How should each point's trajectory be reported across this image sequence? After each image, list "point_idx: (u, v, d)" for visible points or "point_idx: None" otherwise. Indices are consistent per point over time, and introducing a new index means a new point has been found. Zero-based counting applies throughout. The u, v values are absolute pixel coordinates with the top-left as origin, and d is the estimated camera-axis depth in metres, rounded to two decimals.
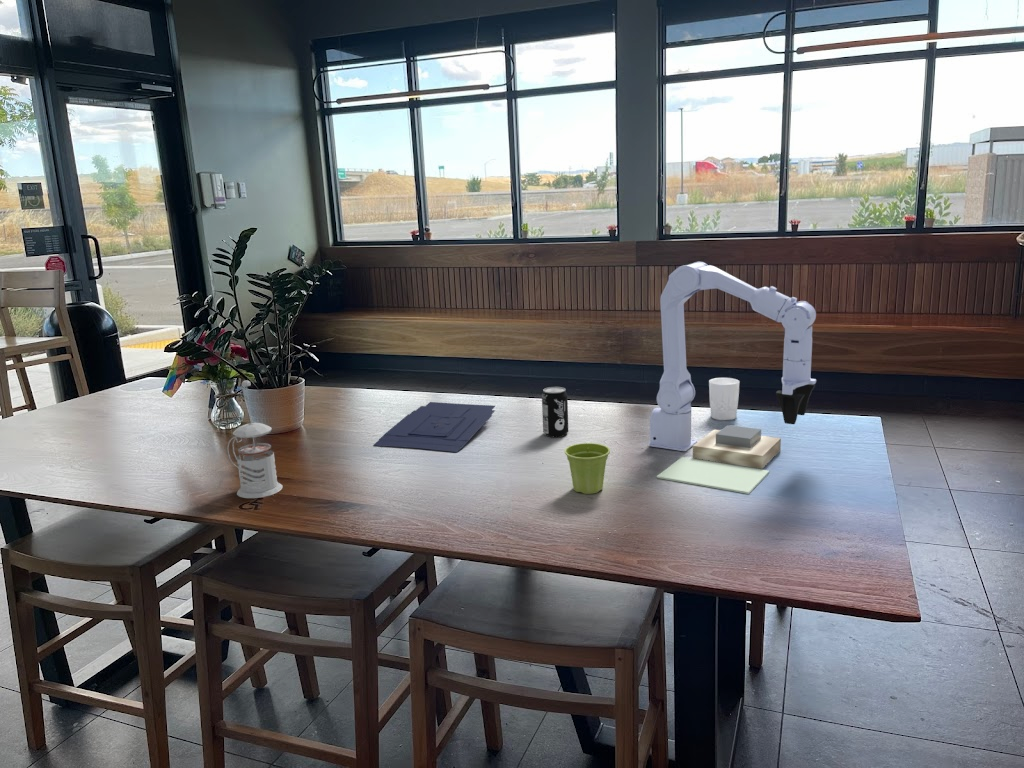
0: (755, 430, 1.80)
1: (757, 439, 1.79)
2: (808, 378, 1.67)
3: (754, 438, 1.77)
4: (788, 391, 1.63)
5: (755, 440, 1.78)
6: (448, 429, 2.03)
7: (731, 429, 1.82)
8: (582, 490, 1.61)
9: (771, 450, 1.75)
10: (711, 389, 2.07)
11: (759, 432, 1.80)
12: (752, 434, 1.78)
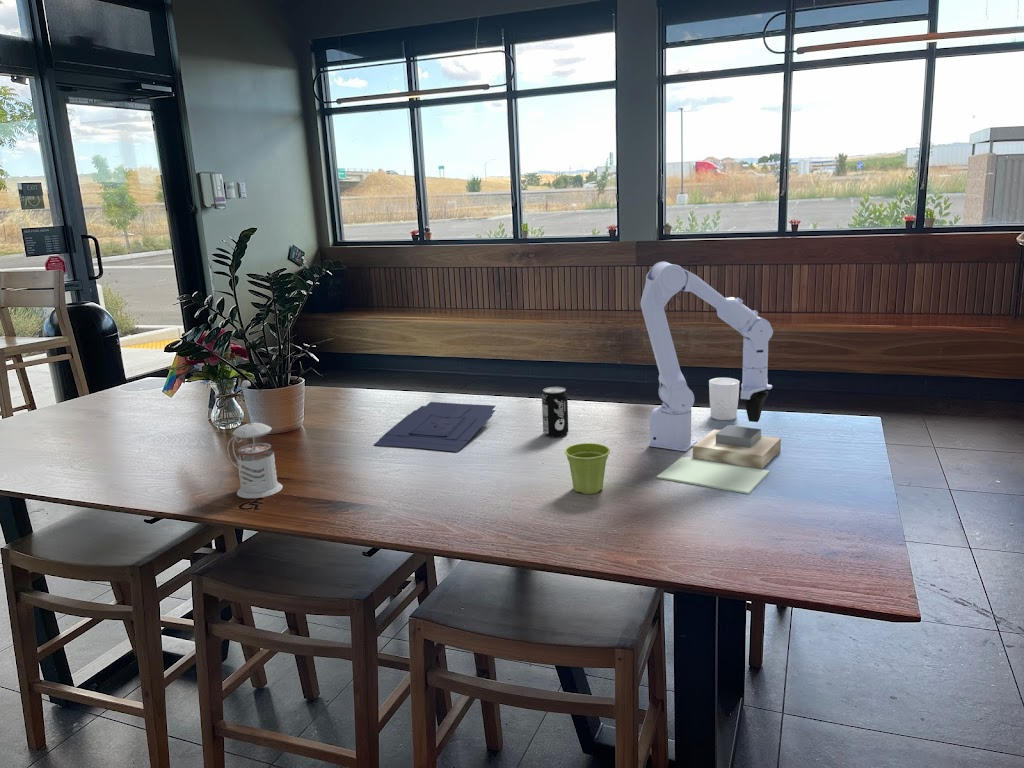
0: (755, 430, 1.80)
1: (757, 439, 1.79)
2: (765, 384, 1.84)
3: (754, 438, 1.77)
4: (746, 396, 1.81)
5: (755, 440, 1.78)
6: (448, 429, 2.04)
7: (731, 429, 1.82)
8: (582, 490, 1.61)
9: (771, 450, 1.75)
10: (711, 389, 2.07)
11: (759, 432, 1.80)
12: (752, 434, 1.78)
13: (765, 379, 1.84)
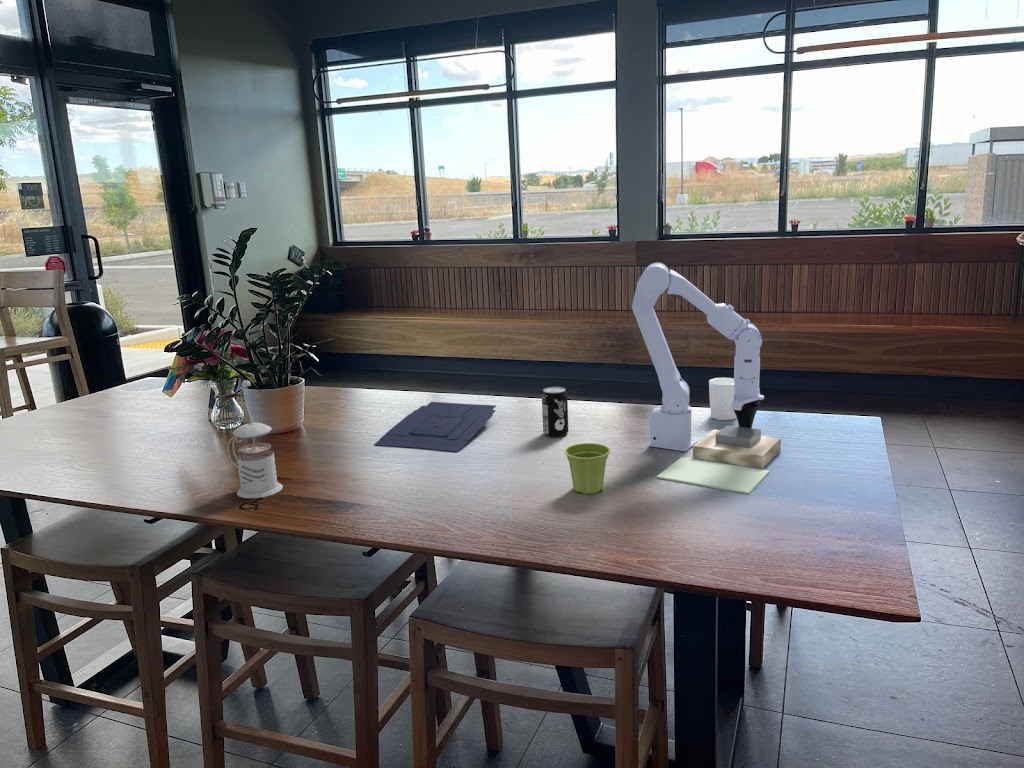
0: (755, 430, 1.80)
1: (757, 439, 1.79)
2: (756, 394, 1.80)
3: (754, 439, 1.77)
4: (737, 407, 1.76)
5: (755, 440, 1.78)
6: (449, 429, 2.04)
7: (731, 429, 1.82)
8: (582, 490, 1.61)
9: (771, 450, 1.75)
10: (711, 389, 2.07)
11: (759, 432, 1.80)
12: (751, 434, 1.77)
13: (757, 389, 1.80)
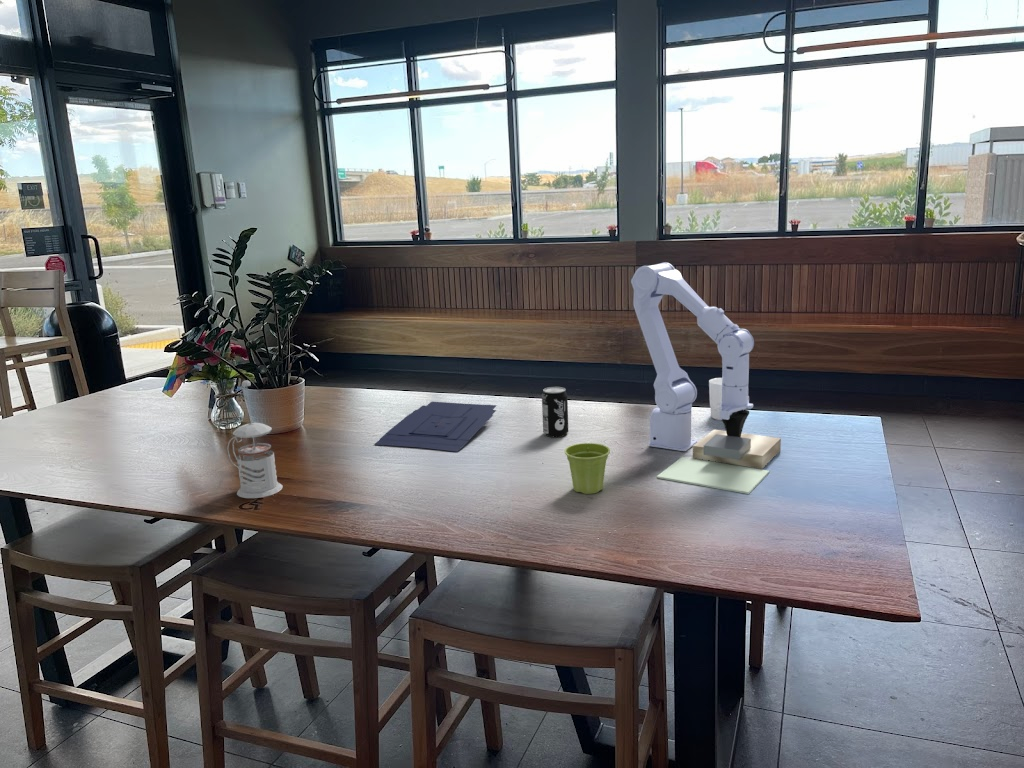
0: (744, 440, 1.73)
1: (746, 449, 1.72)
2: (745, 403, 1.73)
3: (743, 449, 1.70)
4: (725, 416, 1.70)
5: (744, 451, 1.71)
6: (449, 429, 2.04)
7: (719, 439, 1.75)
8: (582, 490, 1.61)
9: (771, 450, 1.75)
10: (711, 389, 2.07)
11: (748, 442, 1.73)
12: (741, 444, 1.71)
13: (746, 398, 1.73)
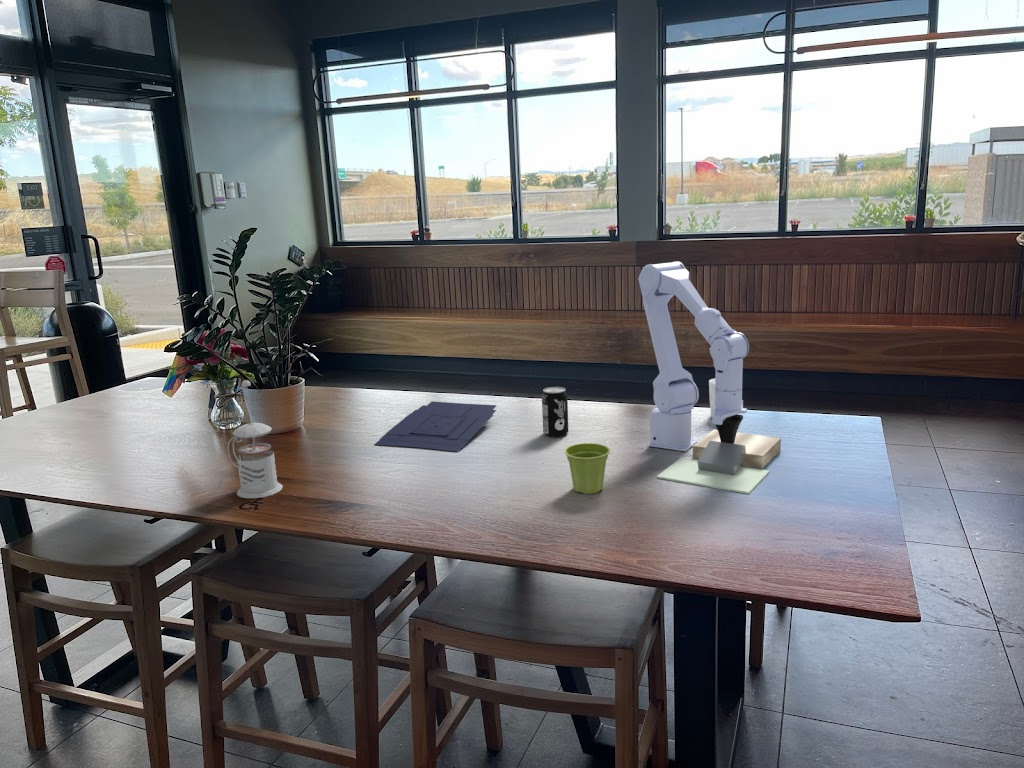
0: (739, 448, 1.70)
1: (741, 458, 1.69)
2: (739, 408, 1.70)
3: (738, 462, 1.68)
4: (718, 421, 1.66)
5: (739, 462, 1.68)
6: (449, 429, 2.04)
7: (713, 449, 1.72)
8: (582, 490, 1.61)
9: (771, 450, 1.75)
10: (711, 389, 2.07)
11: (743, 450, 1.70)
12: (735, 456, 1.68)
13: (739, 402, 1.70)
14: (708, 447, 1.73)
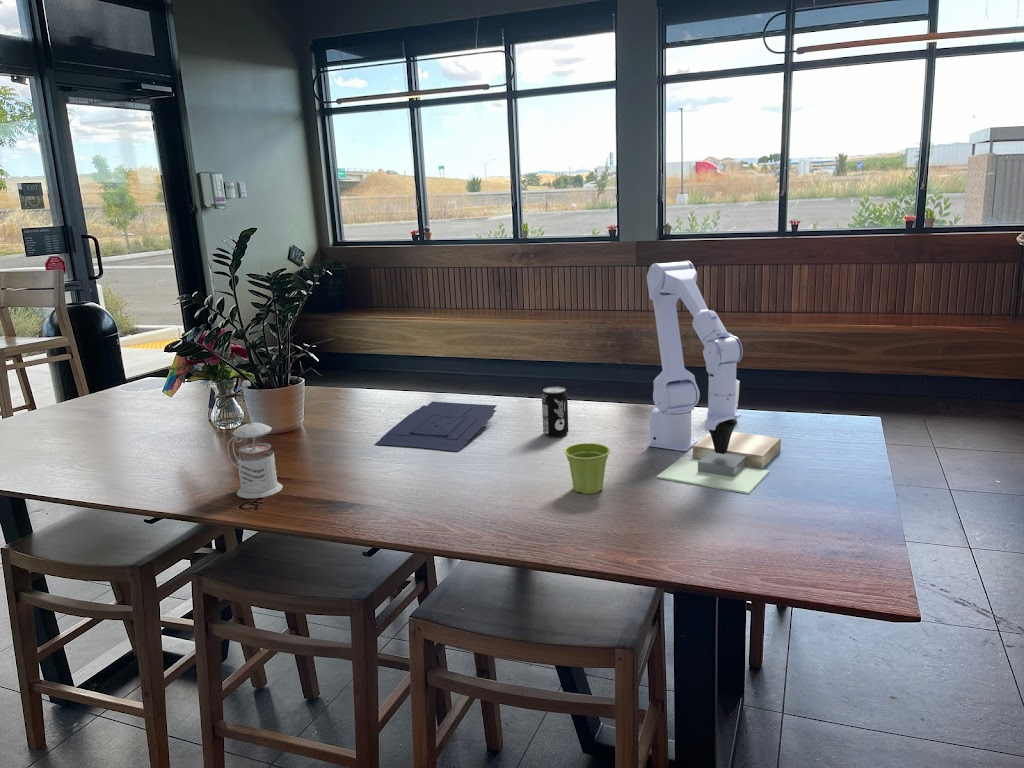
0: (739, 457, 1.70)
1: (741, 467, 1.69)
2: (732, 412, 1.66)
3: (738, 467, 1.67)
4: (711, 426, 1.63)
5: (739, 468, 1.68)
6: (449, 429, 2.04)
7: (714, 456, 1.72)
8: (582, 490, 1.61)
9: (771, 450, 1.75)
10: None
11: (744, 459, 1.70)
12: (736, 461, 1.68)
13: (733, 407, 1.66)
14: (709, 454, 1.73)
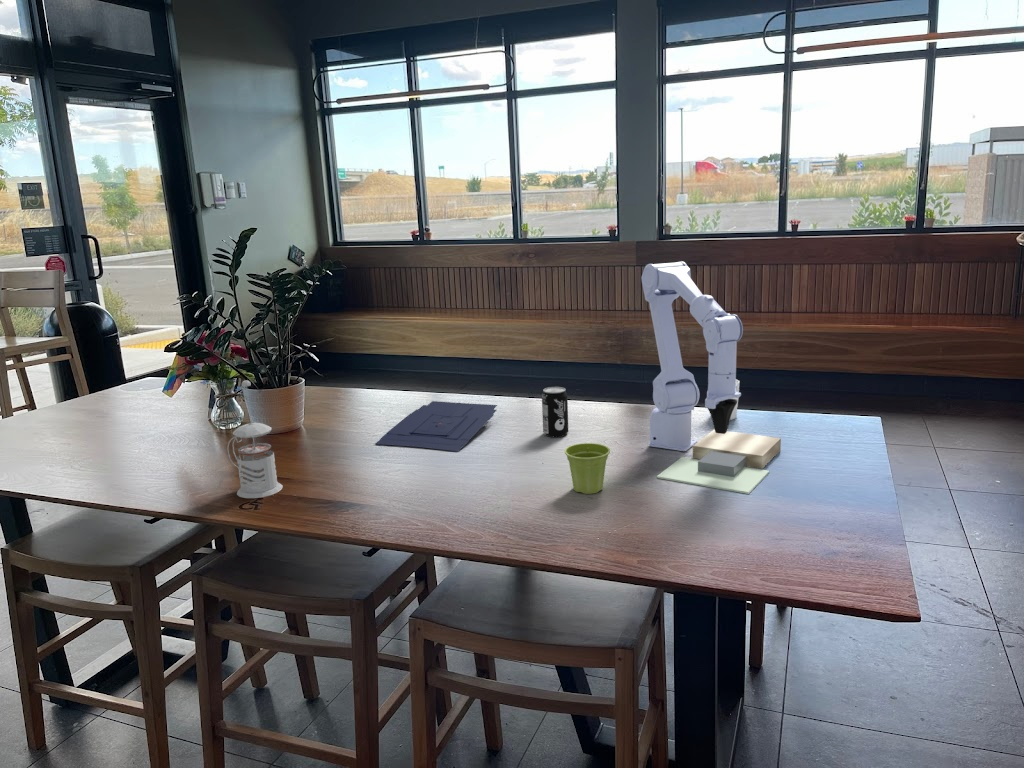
0: (739, 457, 1.70)
1: (741, 467, 1.69)
2: (732, 392, 1.65)
3: (738, 467, 1.67)
4: (711, 405, 1.62)
5: (739, 468, 1.68)
6: (450, 428, 2.04)
7: (714, 456, 1.72)
8: (582, 490, 1.61)
9: (771, 450, 1.75)
10: None
11: (744, 459, 1.70)
12: (736, 461, 1.68)
13: (733, 386, 1.65)
14: (709, 454, 1.73)
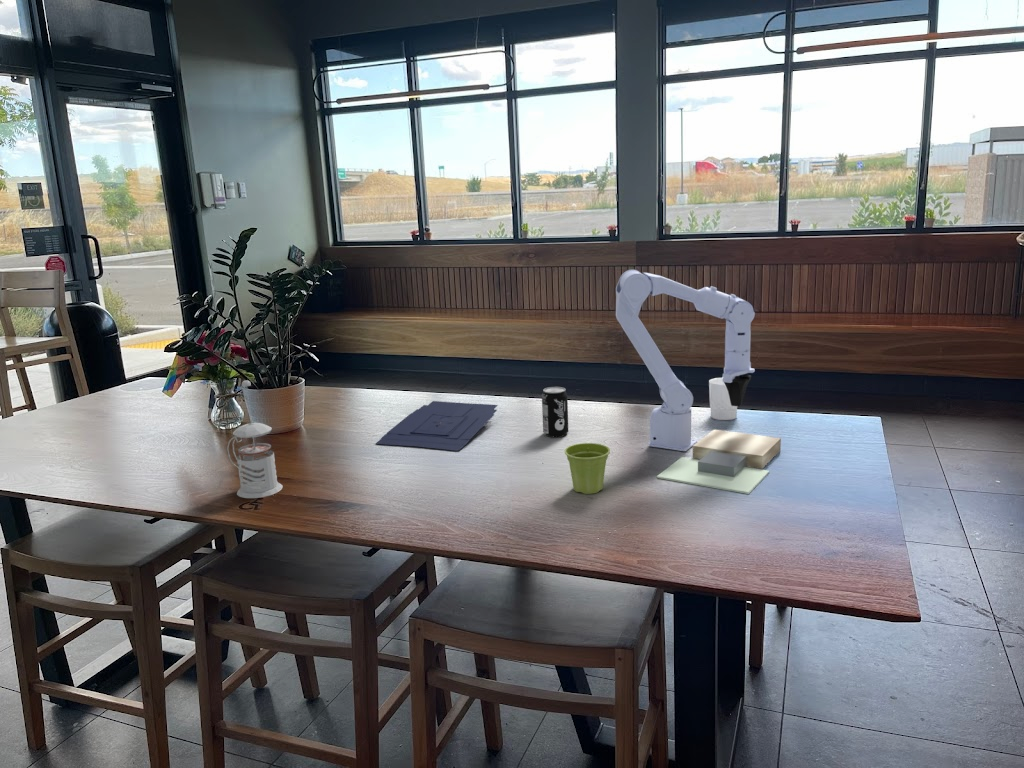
0: (739, 457, 1.70)
1: (741, 467, 1.69)
2: (747, 367, 1.82)
3: (738, 467, 1.67)
4: (728, 379, 1.78)
5: (739, 468, 1.68)
6: (450, 428, 2.04)
7: (714, 456, 1.72)
8: (582, 490, 1.61)
9: (771, 450, 1.75)
10: (711, 389, 2.07)
11: (744, 459, 1.70)
12: (736, 461, 1.68)
13: (747, 362, 1.82)
14: (709, 454, 1.73)
